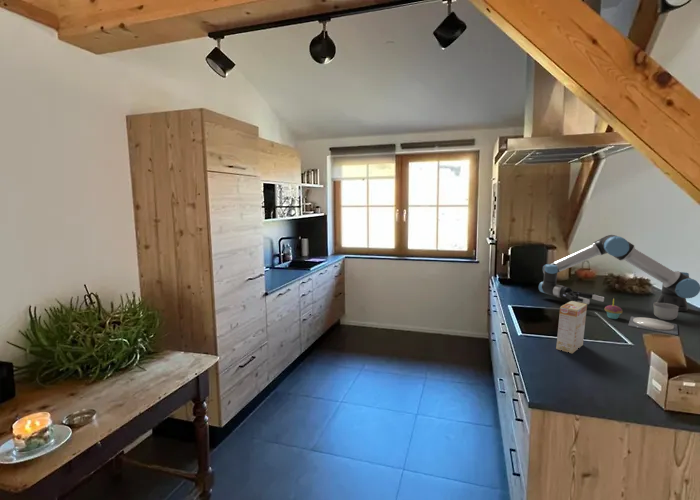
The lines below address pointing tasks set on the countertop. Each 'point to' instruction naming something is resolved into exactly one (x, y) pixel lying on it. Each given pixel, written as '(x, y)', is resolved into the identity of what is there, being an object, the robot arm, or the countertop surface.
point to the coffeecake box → (571, 326)
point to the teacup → (665, 311)
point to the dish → (653, 325)
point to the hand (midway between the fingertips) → (596, 300)
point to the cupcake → (613, 311)
